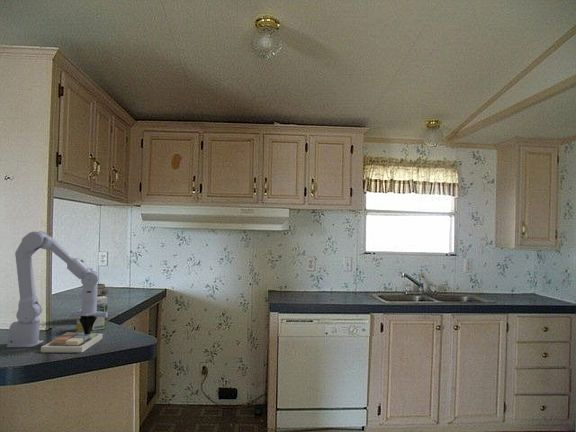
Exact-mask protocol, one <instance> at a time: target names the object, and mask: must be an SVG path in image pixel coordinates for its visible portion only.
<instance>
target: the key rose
mask: <svg viewBox="0 0 576 432" xmlns="http://www.w3.org/2000/svg"><path fill="white" fill-rule="evenodd" d="M78 334H79V332H76V331H75V332H71V331H70V332H69V331H67V332H65V333H63V334H61V336H72V338H73V337H74V336H76V335H78Z"/></svg>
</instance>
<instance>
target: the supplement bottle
mask: <svg viewBox="0 0 576 432" xmlns="http://www.w3.org/2000/svg"><path fill="white" fill-rule="evenodd" d="M78 311H81V308H80V309H78ZM80 318H81V317H76V324H75V325H76V327H75V332H79V333H84V330H83V327H82V324H81V323H80V321H79V319H80Z"/></svg>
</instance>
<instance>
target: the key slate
mask: <svg viewBox="0 0 576 432" xmlns="http://www.w3.org/2000/svg"><path fill="white" fill-rule="evenodd" d="M90 334H91V333H90ZM90 334H78V335H76V336H74V337H73V338H83V341H85V340H87V339H89V338H90Z"/></svg>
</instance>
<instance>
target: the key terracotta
mask: <svg viewBox="0 0 576 432" xmlns="http://www.w3.org/2000/svg"><path fill="white" fill-rule="evenodd" d="M71 338H72V336H62V335H59V336H57V337H56V338H54V339H53V340H54V343H66V341H67V340H69V339H71Z"/></svg>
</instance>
